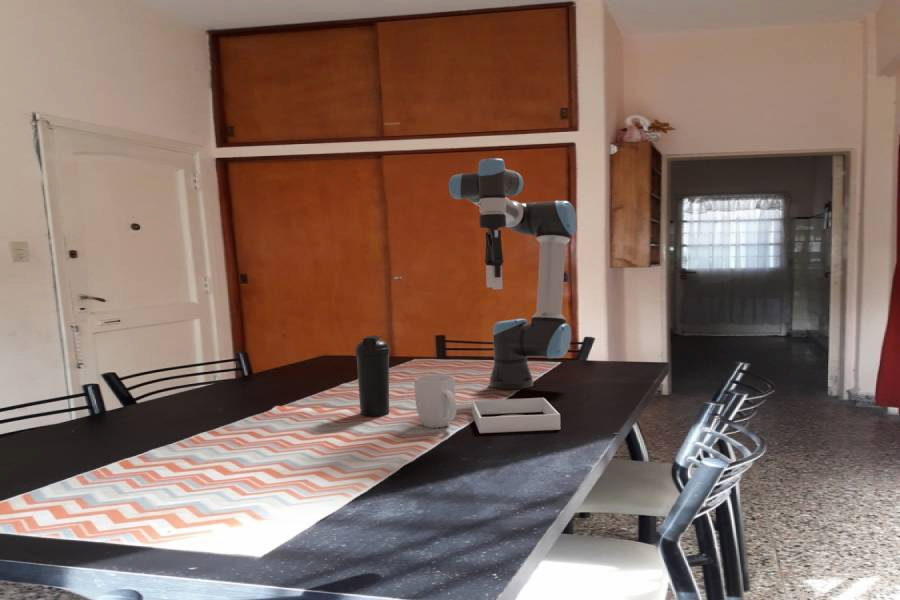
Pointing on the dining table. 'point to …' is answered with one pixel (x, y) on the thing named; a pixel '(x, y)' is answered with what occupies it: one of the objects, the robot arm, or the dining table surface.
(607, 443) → the dining table surface
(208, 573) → the dining table surface
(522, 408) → the white shallow tray
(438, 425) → the mug
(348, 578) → the dining table surface
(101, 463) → the dining table surface
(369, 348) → the water bottle
